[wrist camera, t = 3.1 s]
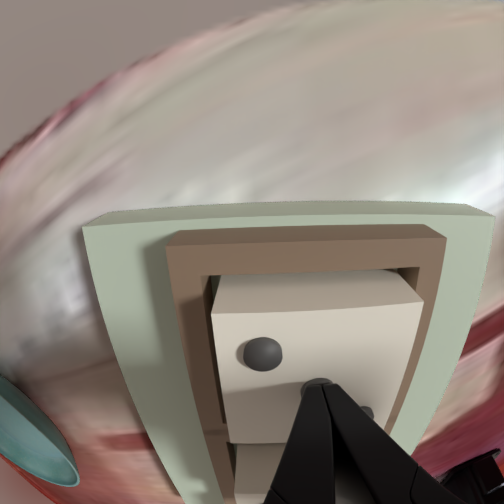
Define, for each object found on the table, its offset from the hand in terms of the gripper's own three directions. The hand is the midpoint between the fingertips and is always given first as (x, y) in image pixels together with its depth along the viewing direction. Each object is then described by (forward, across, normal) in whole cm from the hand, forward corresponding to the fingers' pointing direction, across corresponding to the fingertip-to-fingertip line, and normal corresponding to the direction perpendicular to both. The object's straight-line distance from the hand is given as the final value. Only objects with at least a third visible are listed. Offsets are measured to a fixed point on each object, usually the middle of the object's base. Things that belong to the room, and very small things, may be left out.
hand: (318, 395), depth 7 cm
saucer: (+5, +22, +12) cm, 25 cm away
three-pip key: (+3, 0, 0) cm, 3 cm away
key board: (+5, 0, +7) cm, 8 cm away
